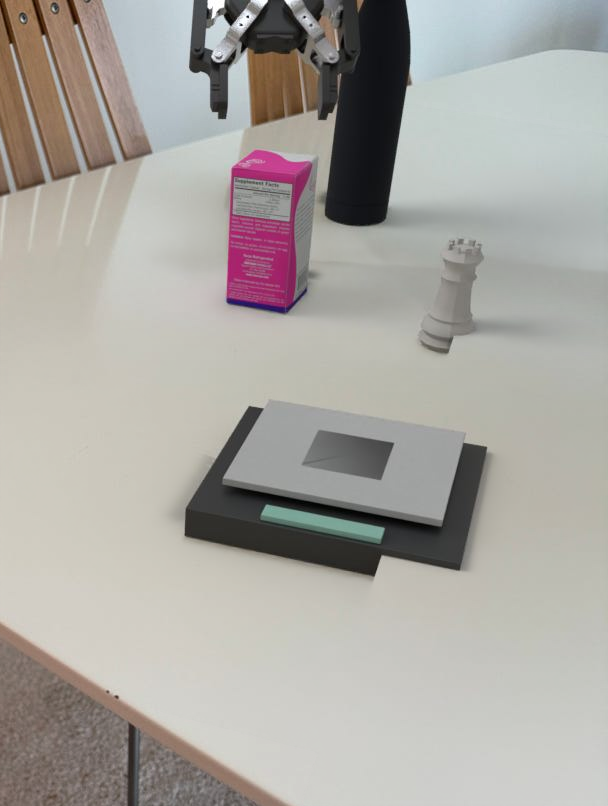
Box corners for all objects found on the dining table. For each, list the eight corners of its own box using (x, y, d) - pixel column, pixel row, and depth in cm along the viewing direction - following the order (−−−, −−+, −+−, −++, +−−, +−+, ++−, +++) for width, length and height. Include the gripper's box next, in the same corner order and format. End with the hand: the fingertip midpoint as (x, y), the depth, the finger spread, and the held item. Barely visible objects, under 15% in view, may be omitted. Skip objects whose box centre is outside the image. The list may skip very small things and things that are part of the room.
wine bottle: (313, 218, 108) (354, -143, 89) (340, 202, 112) (385, -146, 93) (370, 230, 106) (425, -140, 86) (396, 213, 110) (454, -143, 90)
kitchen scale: (480, 473, 69) (491, 432, 67) (453, 592, 59) (464, 549, 57) (246, 431, 73) (249, 391, 71) (184, 536, 63) (185, 493, 61)
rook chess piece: (474, 356, 83) (498, 255, 77) (417, 352, 83) (436, 251, 78) (470, 334, 86) (492, 235, 81) (415, 329, 87) (433, 231, 81)
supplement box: (245, 281, 95) (256, 146, 87) (308, 292, 93) (323, 155, 85) (221, 303, 91) (230, 164, 83) (286, 315, 89) (301, 173, 81)
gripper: (192, -100, 86) (191, 86, 84) (365, -100, 86) (368, 87, 84) (188, -33, 93) (187, 139, 92) (347, -32, 93) (349, 140, 92)
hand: (273, 114), depth 88 cm, fingers open, 8 cm apart
